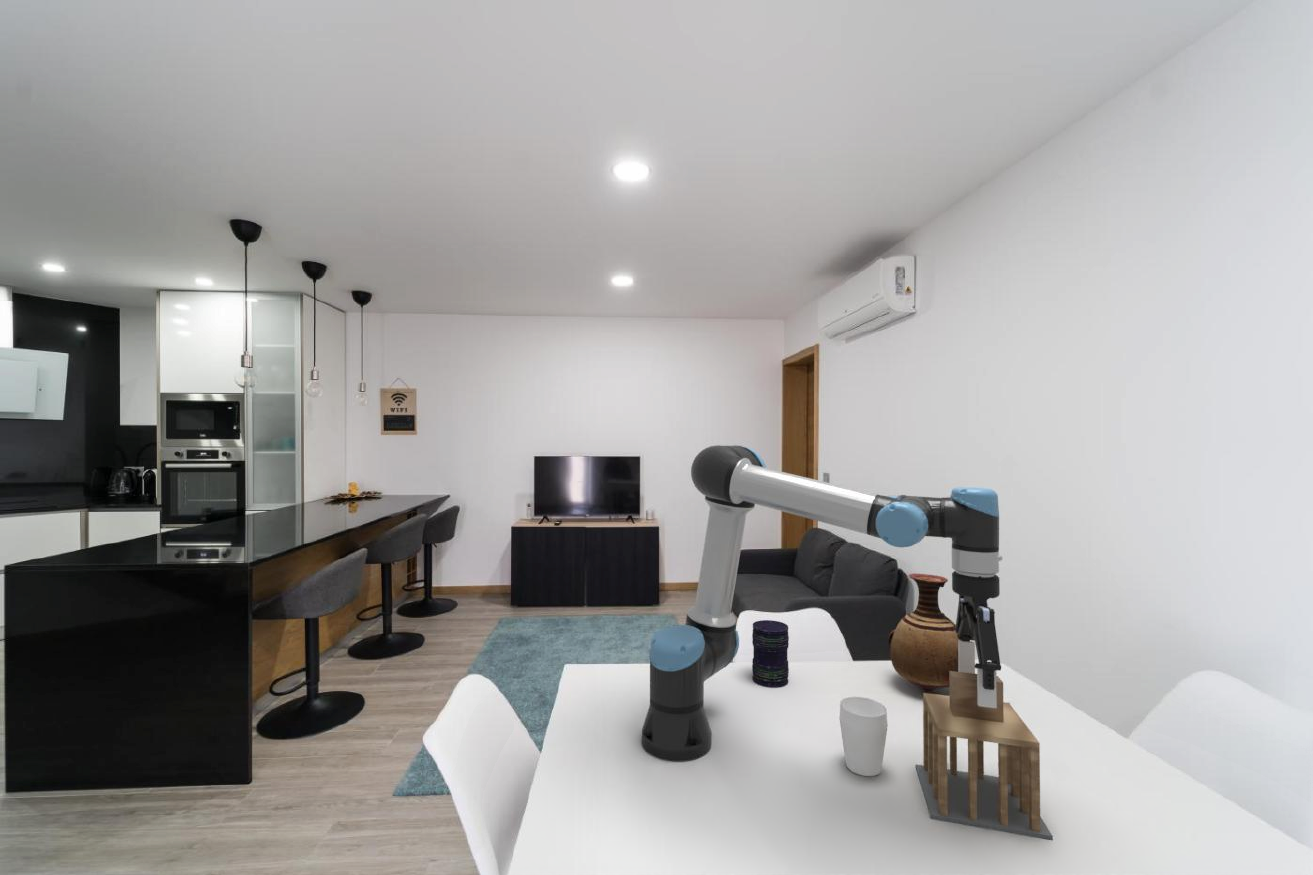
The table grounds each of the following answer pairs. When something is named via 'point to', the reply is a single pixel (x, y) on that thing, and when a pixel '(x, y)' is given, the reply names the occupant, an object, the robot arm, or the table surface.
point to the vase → (925, 639)
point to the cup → (863, 734)
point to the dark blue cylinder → (770, 653)
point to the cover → (980, 747)
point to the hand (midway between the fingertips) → (976, 690)
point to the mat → (978, 804)
